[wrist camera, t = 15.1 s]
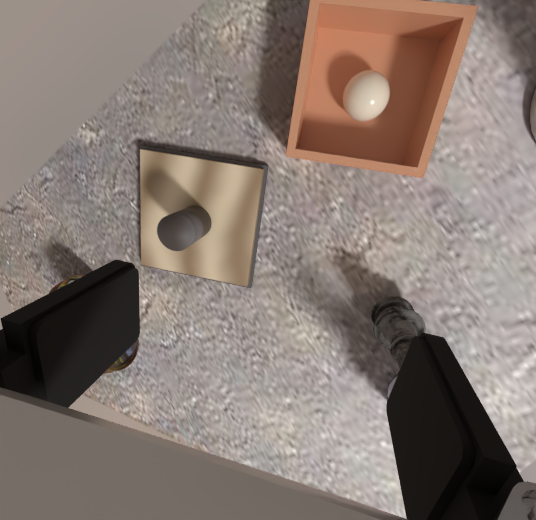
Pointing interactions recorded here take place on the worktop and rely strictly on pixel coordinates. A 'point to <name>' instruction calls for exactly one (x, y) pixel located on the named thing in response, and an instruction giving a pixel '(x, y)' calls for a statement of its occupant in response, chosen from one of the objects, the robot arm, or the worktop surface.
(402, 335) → the salt shaker
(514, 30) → the worktop surface
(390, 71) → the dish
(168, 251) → the lid
